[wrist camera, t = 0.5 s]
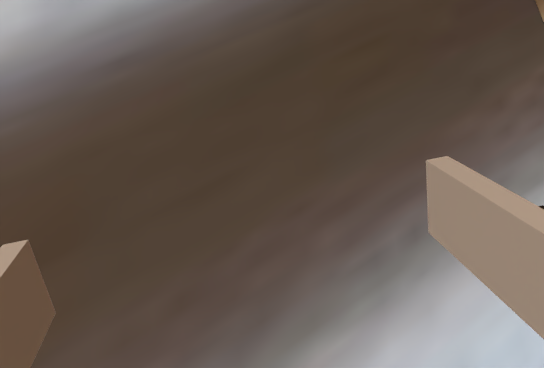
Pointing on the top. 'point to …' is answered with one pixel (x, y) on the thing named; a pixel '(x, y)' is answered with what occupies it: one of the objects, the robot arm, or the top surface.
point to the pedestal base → (541, 7)
